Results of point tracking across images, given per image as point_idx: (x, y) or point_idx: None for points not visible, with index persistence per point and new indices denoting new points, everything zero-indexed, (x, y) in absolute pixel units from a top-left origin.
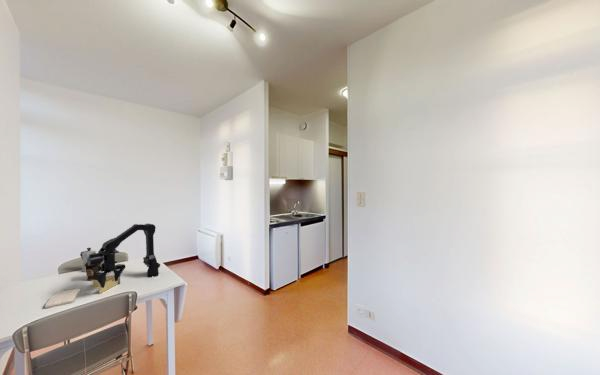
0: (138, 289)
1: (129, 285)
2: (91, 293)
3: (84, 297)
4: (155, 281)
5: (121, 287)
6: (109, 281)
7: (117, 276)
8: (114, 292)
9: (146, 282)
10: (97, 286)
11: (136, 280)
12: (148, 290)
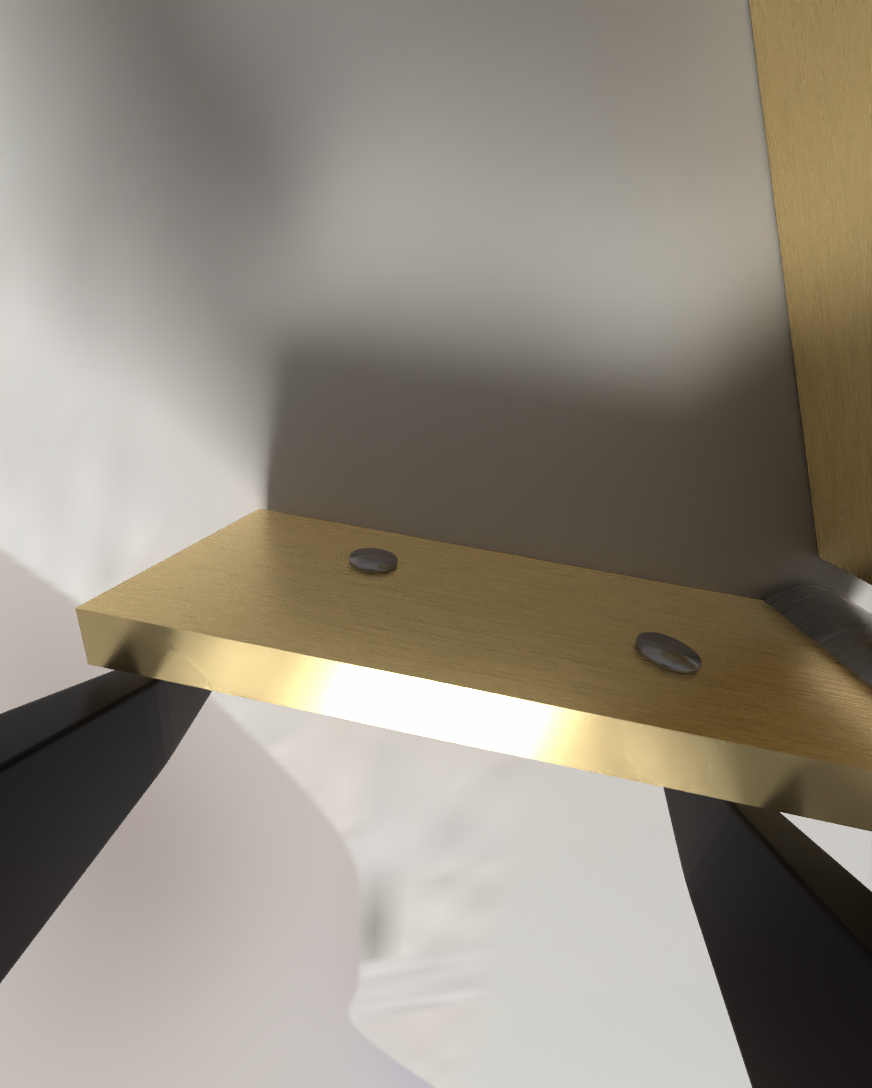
0: (424, 969)
1: (607, 846)
2: (268, 284)
3: (67, 280)
4: (672, 1067)
5: (538, 764)
6: (508, 733)
7: (771, 1047)
8: (334, 748)
9: (671, 1001)
10: (768, 22)
11: (860, 876)
12: (388, 1040)
